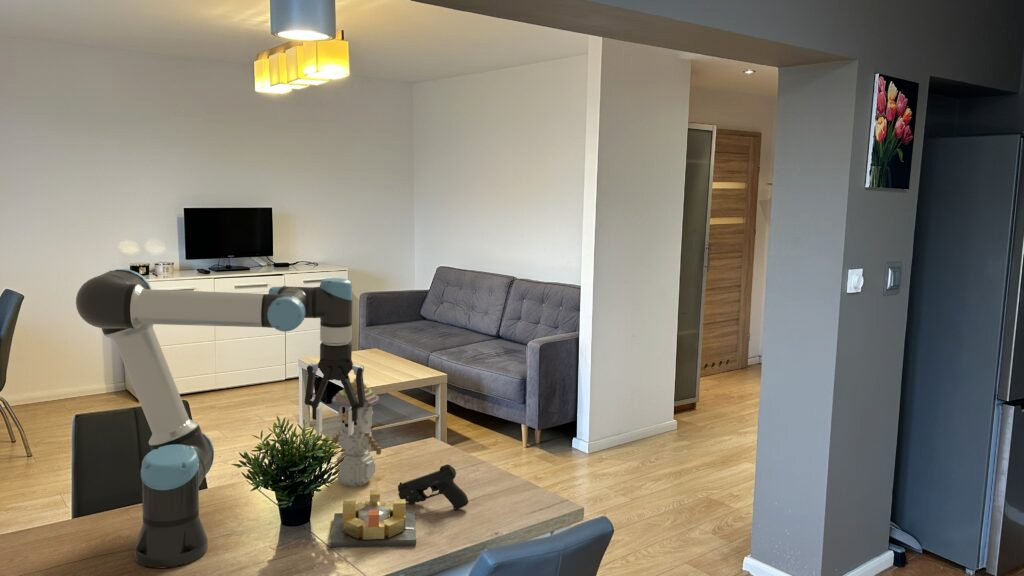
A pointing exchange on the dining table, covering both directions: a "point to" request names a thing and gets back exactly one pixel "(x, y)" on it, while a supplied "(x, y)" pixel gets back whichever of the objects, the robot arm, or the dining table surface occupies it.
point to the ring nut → (373, 518)
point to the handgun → (434, 487)
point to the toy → (356, 439)
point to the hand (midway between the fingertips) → (335, 432)
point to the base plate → (347, 541)
